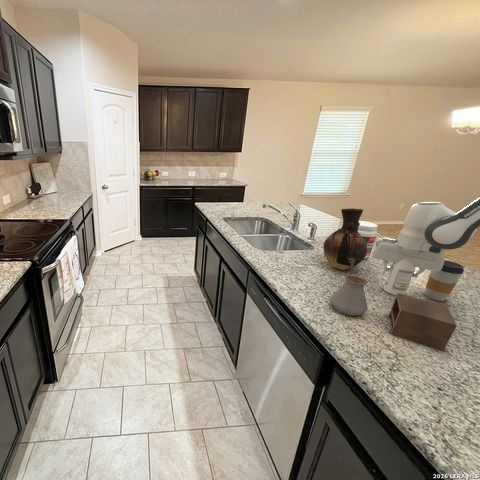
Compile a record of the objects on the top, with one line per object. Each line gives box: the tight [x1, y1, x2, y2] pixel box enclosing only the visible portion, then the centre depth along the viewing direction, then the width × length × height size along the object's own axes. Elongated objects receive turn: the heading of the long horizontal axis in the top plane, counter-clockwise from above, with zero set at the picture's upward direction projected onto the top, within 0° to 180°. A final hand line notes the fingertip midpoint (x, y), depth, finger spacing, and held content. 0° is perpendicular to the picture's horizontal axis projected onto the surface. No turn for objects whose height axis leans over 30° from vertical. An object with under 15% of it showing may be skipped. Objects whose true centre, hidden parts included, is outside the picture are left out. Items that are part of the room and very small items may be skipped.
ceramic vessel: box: [323, 207, 367, 271], centre depth 122 cm, size 21×18×30 cm
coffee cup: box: [423, 259, 465, 302], centre depth 100 cm, size 8×8×15 cm
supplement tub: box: [358, 220, 379, 260], centre depth 138 cm, size 13×13×18 cm
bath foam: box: [383, 259, 416, 296], centre depth 103 cm, size 7×7×20 cm
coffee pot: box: [329, 259, 369, 317], centre depth 96 cm, size 21×12×15 cm, turn 150°
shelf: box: [387, 293, 458, 352], centre depth 82 cm, size 12×12×10 cm
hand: (399, 273), depth 103 cm, fingers open, 7 cm apart
